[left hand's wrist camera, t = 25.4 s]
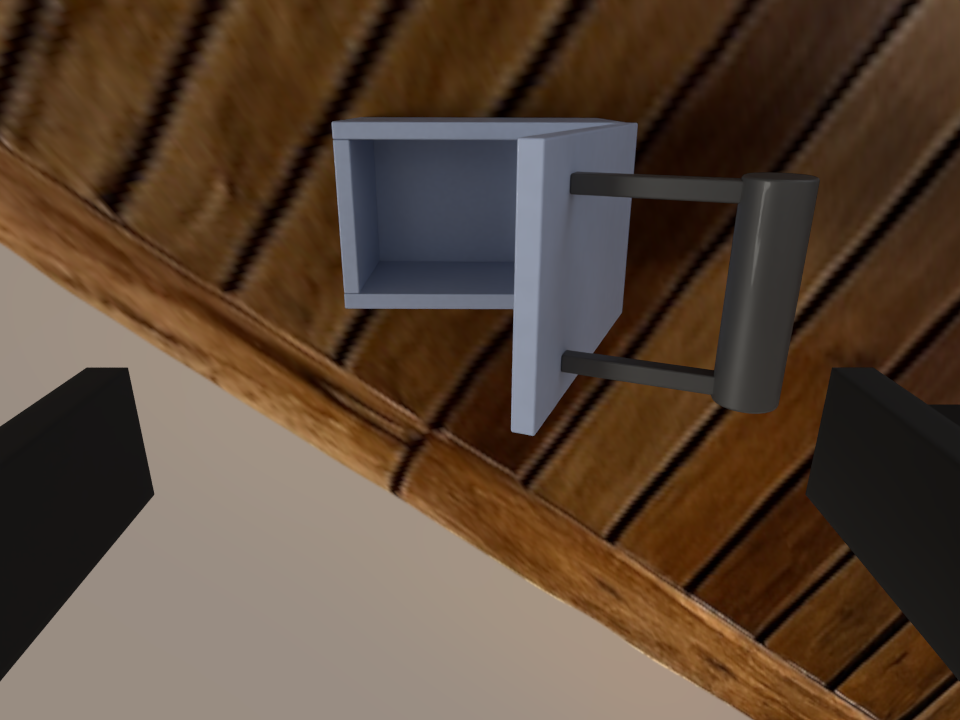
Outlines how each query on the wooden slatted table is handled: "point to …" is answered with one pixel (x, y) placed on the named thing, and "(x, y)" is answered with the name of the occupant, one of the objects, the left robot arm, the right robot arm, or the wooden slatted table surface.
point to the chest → (431, 208)
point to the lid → (602, 262)
